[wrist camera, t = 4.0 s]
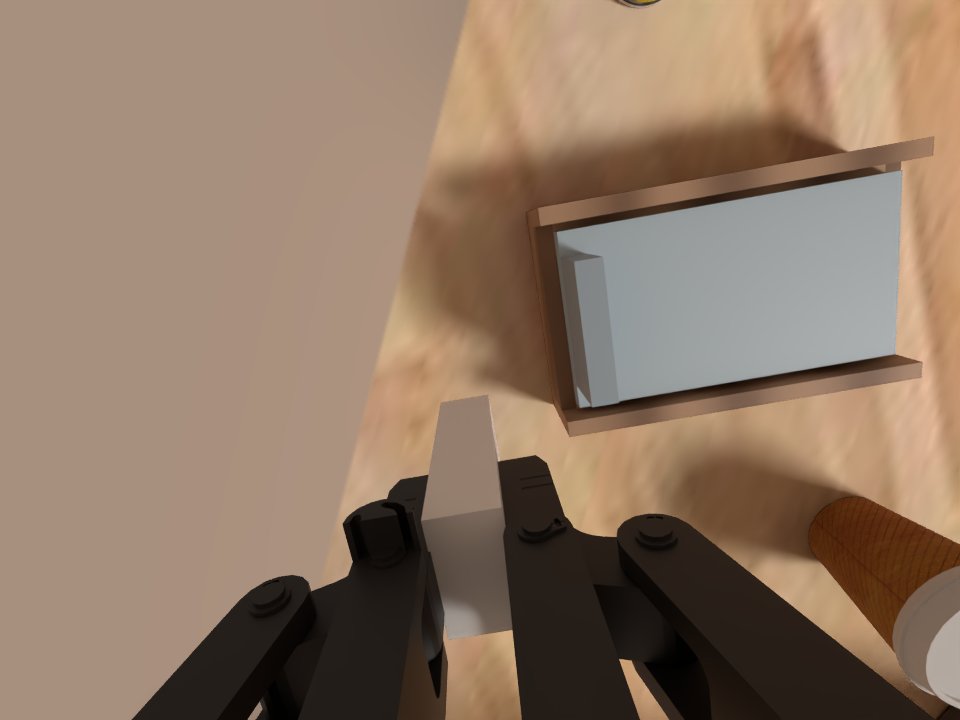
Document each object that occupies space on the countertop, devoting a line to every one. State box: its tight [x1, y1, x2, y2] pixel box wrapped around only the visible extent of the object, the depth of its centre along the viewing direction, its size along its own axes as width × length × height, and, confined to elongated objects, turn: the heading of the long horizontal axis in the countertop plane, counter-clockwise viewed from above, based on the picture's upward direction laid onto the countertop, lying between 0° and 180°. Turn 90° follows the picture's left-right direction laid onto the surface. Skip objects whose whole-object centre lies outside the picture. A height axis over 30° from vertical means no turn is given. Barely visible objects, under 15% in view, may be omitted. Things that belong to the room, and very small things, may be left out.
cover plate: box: [553, 170, 902, 408], centre depth 28 cm, size 20×11×5 cm, turn 100°
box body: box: [526, 137, 934, 437], centre depth 32 cm, size 22×14×6 cm, turn 100°
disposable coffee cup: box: [809, 497, 960, 709], centre depth 34 cm, size 10×10×12 cm
